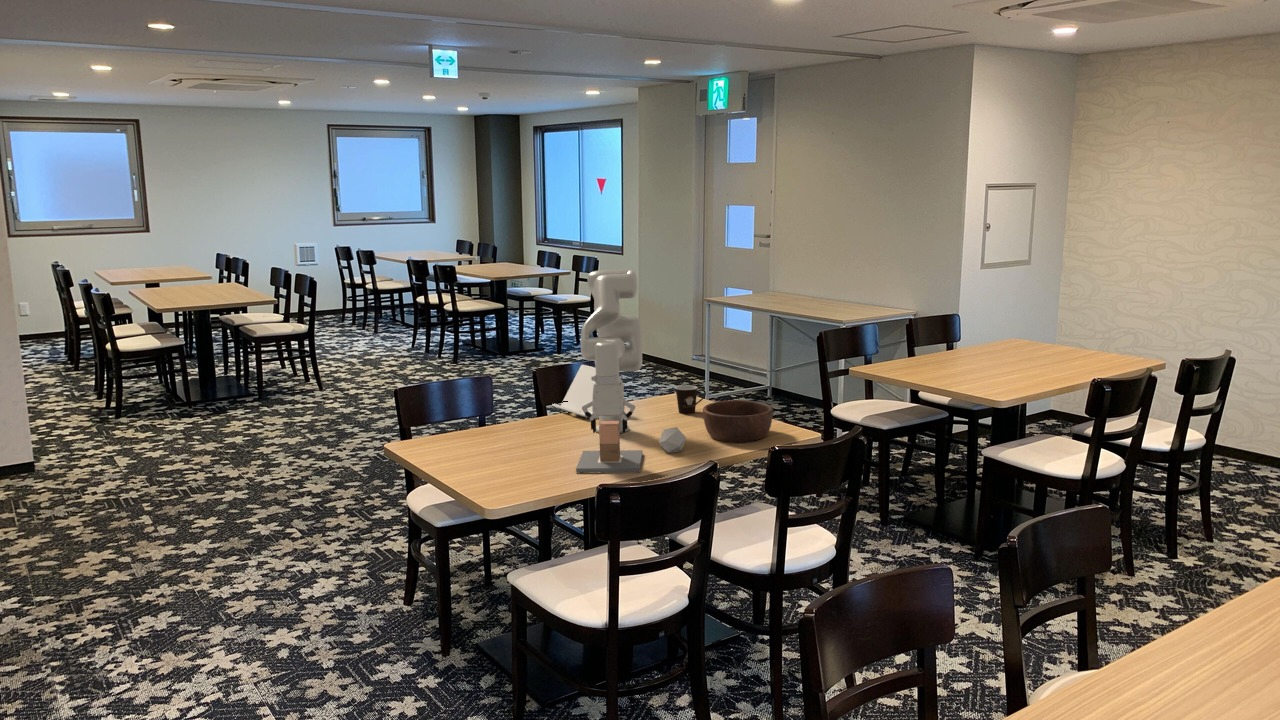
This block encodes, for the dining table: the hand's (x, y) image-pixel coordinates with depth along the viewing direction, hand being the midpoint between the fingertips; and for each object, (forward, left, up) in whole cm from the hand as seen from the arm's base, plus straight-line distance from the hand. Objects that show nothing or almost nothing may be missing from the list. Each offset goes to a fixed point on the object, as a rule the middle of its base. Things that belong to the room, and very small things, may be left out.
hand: (609, 431), depth 306 cm
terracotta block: (0, 0, -3) cm, 3 cm away
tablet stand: (-72, -16, -11) cm, 74 cm away
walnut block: (0, 0, -9) cm, 9 cm away
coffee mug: (-68, +26, -11) cm, 74 cm away
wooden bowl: (-33, +43, -11) cm, 55 cm away
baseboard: (0, 0, -11) cm, 11 cm away
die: (-14, +20, -11) cm, 27 cm away
